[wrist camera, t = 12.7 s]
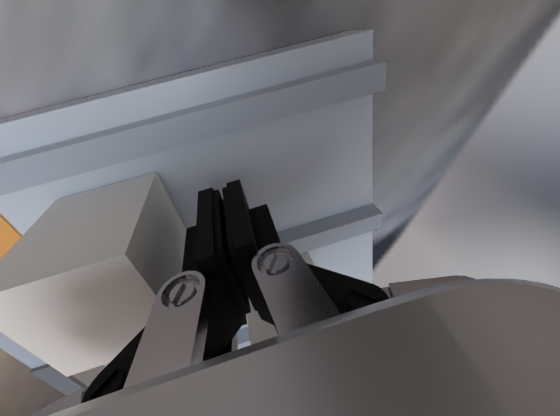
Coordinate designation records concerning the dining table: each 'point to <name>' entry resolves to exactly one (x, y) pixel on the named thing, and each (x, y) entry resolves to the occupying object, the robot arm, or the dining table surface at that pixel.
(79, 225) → the light grey block
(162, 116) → the switch bank
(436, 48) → the dining table surface
